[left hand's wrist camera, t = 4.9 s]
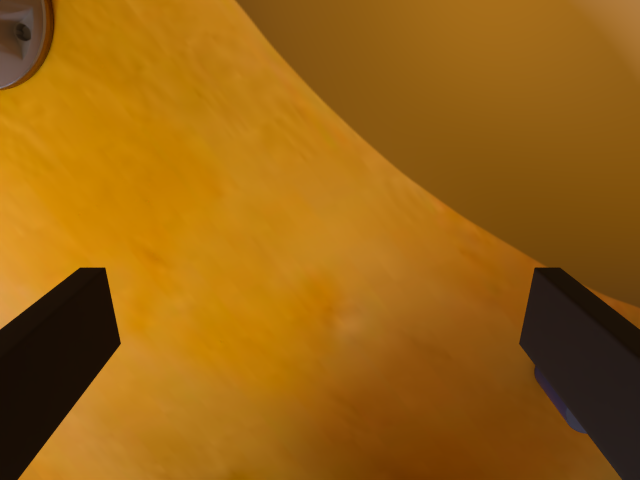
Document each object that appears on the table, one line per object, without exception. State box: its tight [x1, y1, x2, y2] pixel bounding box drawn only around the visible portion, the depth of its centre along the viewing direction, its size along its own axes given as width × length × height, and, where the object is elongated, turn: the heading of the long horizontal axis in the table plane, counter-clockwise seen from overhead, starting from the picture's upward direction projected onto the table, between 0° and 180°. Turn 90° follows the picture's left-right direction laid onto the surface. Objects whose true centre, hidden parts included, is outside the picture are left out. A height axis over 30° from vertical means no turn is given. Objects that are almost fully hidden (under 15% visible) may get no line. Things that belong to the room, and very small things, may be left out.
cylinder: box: [535, 366, 587, 434], centre depth 49 cm, size 7×7×7 cm
